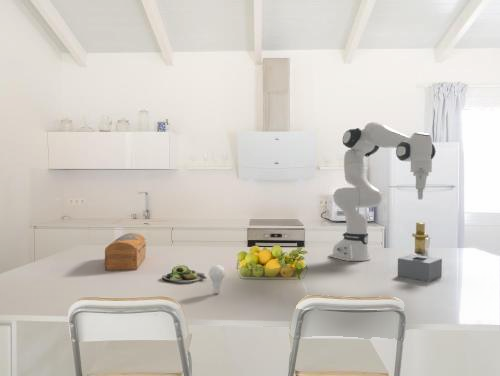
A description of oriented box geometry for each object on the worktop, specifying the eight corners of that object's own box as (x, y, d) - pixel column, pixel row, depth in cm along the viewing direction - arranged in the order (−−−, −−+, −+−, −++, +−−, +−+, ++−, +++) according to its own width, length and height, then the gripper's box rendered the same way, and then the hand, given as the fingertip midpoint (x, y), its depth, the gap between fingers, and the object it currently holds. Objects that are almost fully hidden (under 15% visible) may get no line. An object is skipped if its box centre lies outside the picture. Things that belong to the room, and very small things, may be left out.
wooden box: (116, 258, 217) (116, 233, 217) (147, 257, 219) (146, 232, 218) (101, 271, 187) (101, 242, 187) (137, 270, 189) (136, 241, 188)
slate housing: (397, 275, 180) (397, 258, 180) (411, 270, 190) (411, 254, 189) (429, 281, 170) (429, 263, 170) (441, 276, 180) (441, 258, 179)
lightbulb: (209, 291, 154) (209, 263, 154) (224, 291, 155) (224, 263, 155) (208, 296, 148) (208, 267, 148) (225, 295, 149) (225, 266, 149)
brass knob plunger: (409, 253, 180) (409, 223, 179) (415, 251, 184) (416, 222, 184) (424, 255, 175) (424, 224, 174) (430, 253, 179) (431, 223, 179)
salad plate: (217, 277, 177) (217, 267, 177) (192, 287, 161) (192, 276, 161) (183, 272, 186) (183, 262, 186) (156, 280, 171) (156, 270, 171)
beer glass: (431, 269, 193) (432, 238, 192) (416, 268, 194) (417, 238, 193) (428, 266, 199) (429, 236, 199) (413, 265, 201) (414, 236, 200)
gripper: (428, 168, 169) (427, 200, 170) (428, 168, 188) (427, 197, 189) (412, 168, 172) (412, 200, 172) (414, 168, 190) (413, 197, 191)
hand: (420, 198), depth 181 cm, fingers open, 8 cm apart
